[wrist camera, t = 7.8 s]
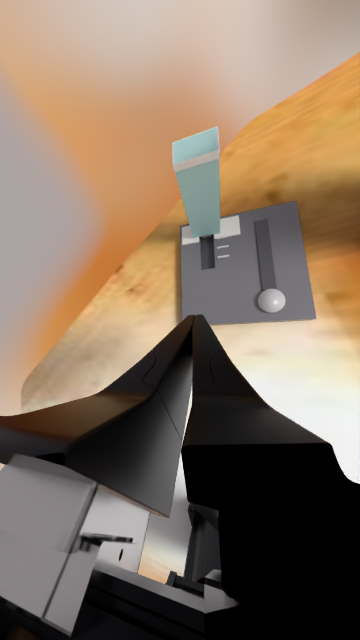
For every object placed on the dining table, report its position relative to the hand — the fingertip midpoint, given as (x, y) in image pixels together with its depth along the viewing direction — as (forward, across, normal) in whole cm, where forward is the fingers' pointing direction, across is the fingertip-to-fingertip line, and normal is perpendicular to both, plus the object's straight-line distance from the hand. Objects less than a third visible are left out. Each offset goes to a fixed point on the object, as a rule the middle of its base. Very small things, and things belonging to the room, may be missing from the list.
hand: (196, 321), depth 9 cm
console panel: (+16, -4, +3) cm, 17 cm away
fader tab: (+21, 0, -2) cm, 21 cm away
